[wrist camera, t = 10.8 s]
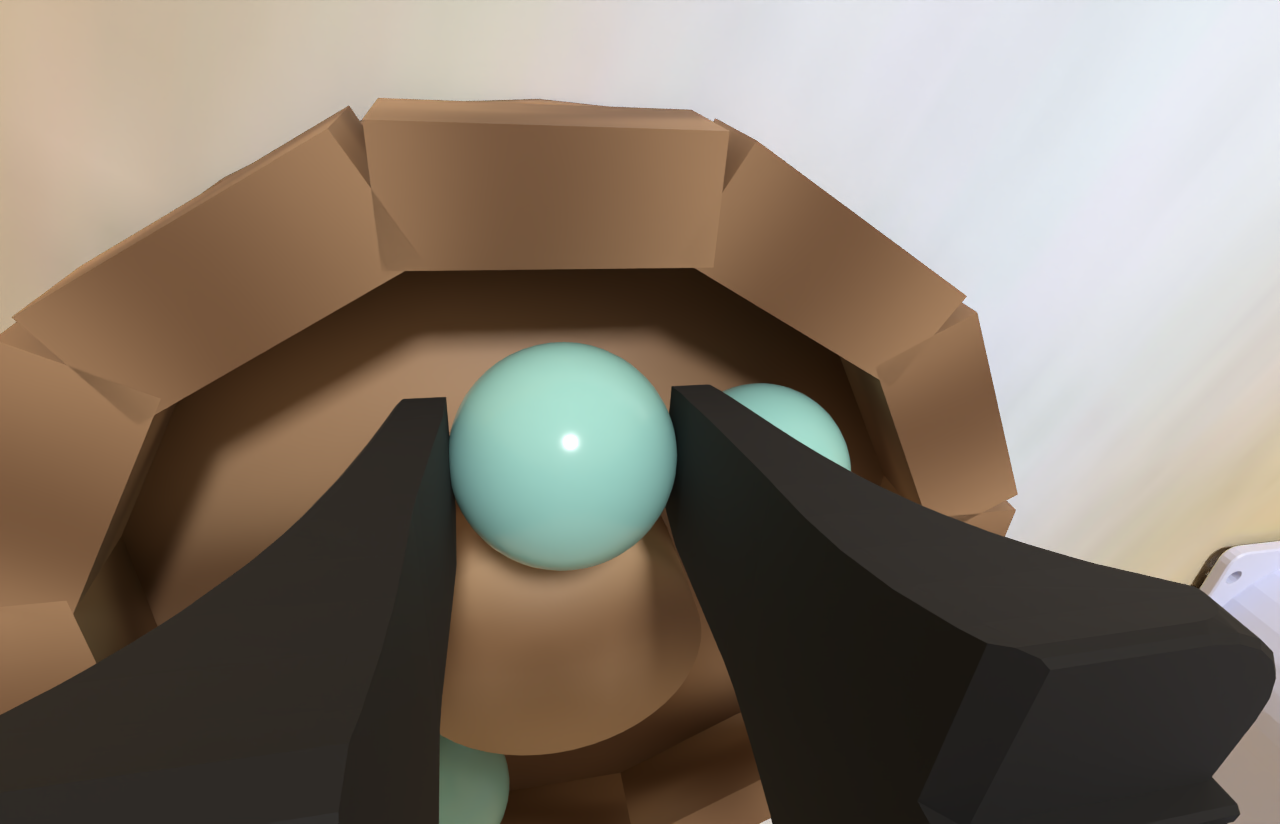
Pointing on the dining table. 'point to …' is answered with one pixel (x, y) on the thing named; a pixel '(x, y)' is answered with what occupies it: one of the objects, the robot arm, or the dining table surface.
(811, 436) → the bead
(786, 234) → the ring tray
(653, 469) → the bead
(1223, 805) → the robot arm
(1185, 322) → the dining table surface
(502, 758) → the seated bead
